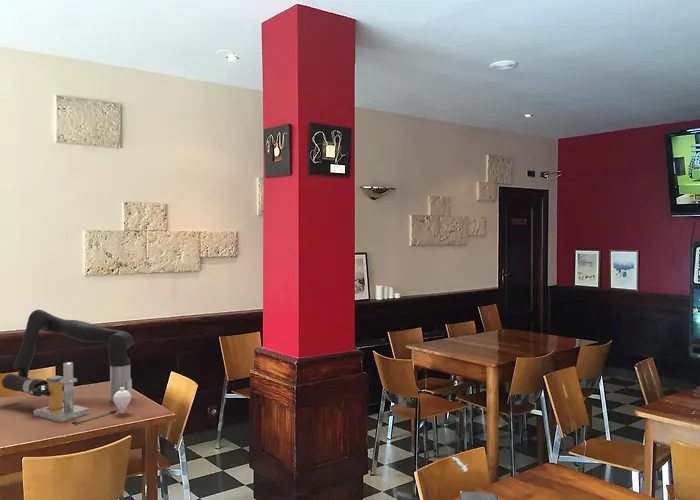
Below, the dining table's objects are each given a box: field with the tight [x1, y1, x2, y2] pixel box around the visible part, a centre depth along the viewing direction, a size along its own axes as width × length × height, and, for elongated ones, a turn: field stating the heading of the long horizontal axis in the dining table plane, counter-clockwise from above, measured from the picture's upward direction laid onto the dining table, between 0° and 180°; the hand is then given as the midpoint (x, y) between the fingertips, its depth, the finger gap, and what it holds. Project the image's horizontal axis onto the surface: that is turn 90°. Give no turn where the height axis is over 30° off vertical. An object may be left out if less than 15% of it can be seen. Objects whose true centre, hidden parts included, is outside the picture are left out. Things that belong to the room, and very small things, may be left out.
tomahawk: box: [71, 409, 117, 427], centre depth 261 cm, size 21×7×1 cm, turn 146°
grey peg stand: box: [33, 361, 90, 423], centre depth 266 cm, size 19×14×24 cm
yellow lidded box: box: [46, 375, 63, 411], centre depth 268 cm, size 5×5×16 cm
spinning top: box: [112, 387, 132, 415], centre depth 268 cm, size 8×8×12 cm
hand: (58, 391), depth 267 cm, fingers open, 8 cm apart
